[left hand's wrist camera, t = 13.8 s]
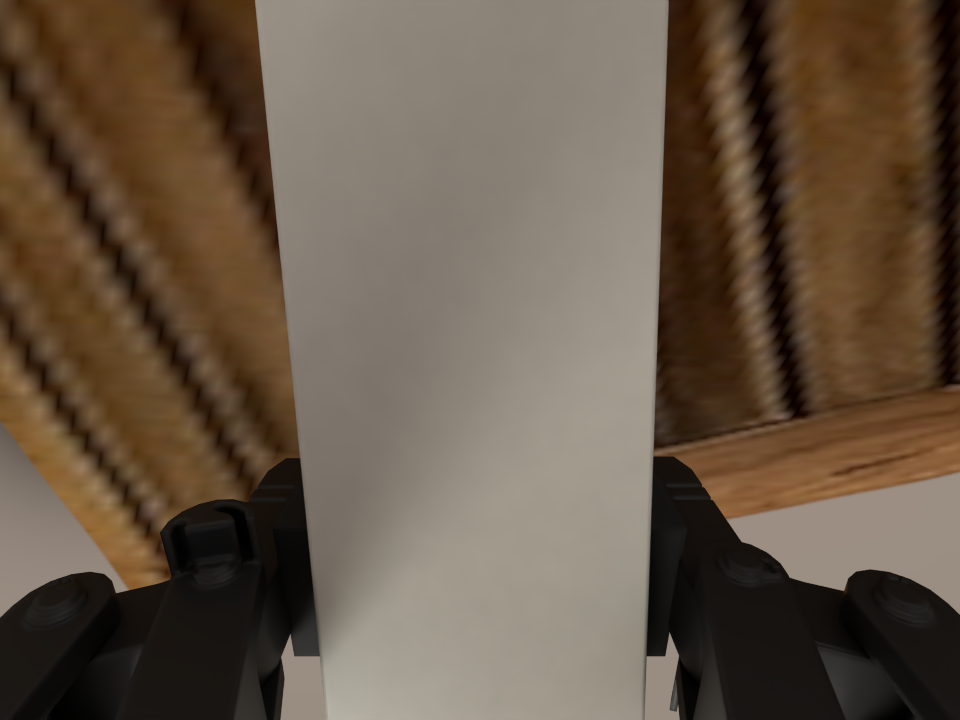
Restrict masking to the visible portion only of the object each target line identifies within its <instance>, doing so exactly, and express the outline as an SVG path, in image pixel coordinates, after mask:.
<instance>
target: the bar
mask: <svg viewBox="0 0 960 720" xmlns="http://www.w3.org/2000/svg"><path fill="white" fill-rule="evenodd" d="M255 4H256V14H257V25H258V35H259V45H260V55H261V65H262V75H263V85H264V95H265V106H266V116H267V126H268V136H269V146H270V156H271V166H272V176H273V187H274V197H275V207H276V217H277V227H278V237H279V247H280V257H281V268H282V278H283V288H284V298H285V308H286V318H287V328H288V338H289V349H290V359H291V369H292V379H293V389H294V399H295V409H296V419H297V429H298V440H299V450H300V460H301V470H302V480H303V490H304V500H305V510H306V521H307V531H308V541H309V551H310V561H311V571H312V581H313V591H314V602H315V612H316V622H317V632H318V642H319V652H320V662H321V672H322V683H323V693H324V703H325V713H326V720H644V715H645V686H646V656H647V627H648V597H649V568H650V538H651V508H652V479H653V449H654V420H655V390H656V361H657V331H658V301H659V272H660V242H661V213H662V183H663V154H664V124H665V94H666V65H667V35H668V6H669V0H255Z"/></svg>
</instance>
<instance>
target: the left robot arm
mask: <svg viewBox="0 0 960 720" xmlns="http://www.w3.org/2000/svg"><path fill="white" fill-rule="evenodd" d="M160 534H161V538H162V542H163V546H164V549H165V553H166V557H167V560H168V564H169V568H170V572H171V575H172V576H171V579H170V580H169V581H165V582H162V583H159V584H155V585H151V586H146V587H142V588H137V589H133V590H129V591H124V592H120V593H116V592H115V589H114V586H113V583H112V581H111V580H110V579H109V578H108V577H107V576H106V575H105V574H101V573H94V572H85V573H77V574H71V575H68V576H65V577H62V578H58V579H56V580H53V581H50V582H48V583H46V584H45V585H43V586H41V587H39V588H37V589H35V590H33V591H31V592H30V593H28V594H27V595H26V596H25V597H23V598H22V599H21V600H19V601H18V602H17V603H16V604H14V605H13V606H12V607H11V608H10V609H9V610H8V611H7V612H6V613H5V614H4V615H3V616H2V617H0V720H280V718H281V708H282V698H283V688H284V672H283V665H282V660H281V656H282V653H283V651H284V648H285V646H286V643H287V641H288V638H289V636H290V634H291V639H292V645H293V651H294V656H320V652H319V642H318V632H317V622H316V612H315V602H314V591H313V581H312V571H311V561H310V551H309V541H308V531H307V521H306V510H305V500H304V490H303V480H302V470H301V460H300V458H286V459H284V460H283V461H282V462H280V463H279V464H277V465H276V466H275V467H273V468H272V469H270V470H269V471H268V472H267V473H266V475H265V476H264V478H263V479H262V481H261V482H260V484H259V485H258V489H256V490H255V491H254V493H253V494H252V495H251V497H250V498H249V502H247V503H246V502H242V501H238V500H234V499H226V500H214V501H210V502H206V503H202V504H198V505H196V506H194V507H192V508H189V509H187V510H185V511H183V512H181V513H180V514H178V515H177V516H176V517H174V518H173V519H171V520H170V521H169V522H168V523H167V524H166V525H165V527H164V528H163V529H162V531H161V532H160ZM669 632H670V634H671V637H672V639H673V642H674V644H675V647H676V649H677V652H678V654H679V660H678V665H677V671H676V676H675V681H674V686H673V692H672V697H671V704H670V710H672V711H677V707H678V706H679V716H680V720H960V615H959V614H958V613H957V612H956V611H955V610H954V609H953V608H952V607H951V606H950V605H949V604H948V603H947V602H945V601H944V600H943V599H942V598H940V597H939V596H938V595H936V594H935V593H934V592H932V591H931V590H930V589H928V588H926V587H924V586H922V585H920V584H918V583H916V582H914V581H913V580H911V579H908V578H905V577H903V576H899V575H897V574H893V573H890V572H885V571H878V570H864V571H858V572H855V573H854V574H853V575H852V576H851V577H849V578H848V581H847V584H846V587H845V590H844V591H841V590H837V589H832V588H828V587H823V586H819V585H815V584H810V583H806V582H802V581H799V580H795V579H792V578H789V576H788V574H787V572H786V571H785V570H784V568H783V566H782V565H781V564H780V563H779V562H778V561H777V560H776V559H774V558H773V557H772V556H771V555H769V554H768V553H767V552H765V551H763V550H761V549H759V548H757V547H755V546H753V545H750V544H747V543H743V542H741V540H740V539H739V538H738V536H737V535H736V533H735V532H734V530H733V529H732V527H731V526H730V525H729V523H728V522H727V520H726V519H725V517H724V516H723V514H722V513H721V511H720V510H719V508H718V507H717V506H716V504H715V503H714V501H713V500H711V497H710V495H709V494H708V492H707V491H706V490H705V488H704V487H702V484H701V482H700V481H699V479H698V478H697V476H696V475H695V473H694V472H693V471H692V469H690V468H689V467H688V466H686V465H685V464H683V463H682V462H680V461H679V460H678V459H676V458H675V457H653V479H652V508H651V538H650V568H649V597H648V627H647V656H665V654H666V649H667V643H668V637H669Z"/></svg>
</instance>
